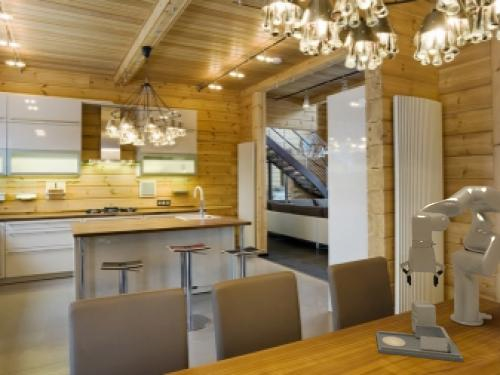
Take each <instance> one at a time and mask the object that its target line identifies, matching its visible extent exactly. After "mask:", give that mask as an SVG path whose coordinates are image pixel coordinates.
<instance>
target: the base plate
mask: <svg viewBox="0 0 500 375" xmlns="http://www.w3.org/2000/svg"><path fill="white" fill-rule="evenodd" d="M375 336H376V341H377V342H376V343H377V349H378V353H379V354H386V355H387V354H389V355H397V356H404V357H405V356H406V357H415V358H424V359H430V360H431V359H433V360H440V361H441V360H442V361H450V362H451V361H452V362H458V363H459V362H460V363H464V357H463V355H462V353H460V351H459V349H458V348H457V345H456V344H455V343H454V341H453V339H452V338H450V339H451V353H443V352H434V351H424V350H420V338H416V337H415V333H405V332H397V331H384V330H383V331H382V330H378V331H376V332H375Z"/></svg>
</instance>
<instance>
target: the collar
mask: <svg viewBox="0 0 500 375" xmlns="http://www.w3.org/2000/svg"><path fill="white" fill-rule="evenodd" d="M414 334H415V337H416V338H420V350H424V351H434V352H443V353H451V339H452V338H451V337H450V336H449V334H448V332H447V330H446V329H445V328H444V326H443V325H442V326H440V325H436V326H432V325H421V324H415V333H414Z"/></svg>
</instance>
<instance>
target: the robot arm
mask: <svg viewBox="0 0 500 375" xmlns="http://www.w3.org/2000/svg"><path fill="white" fill-rule="evenodd" d="M469 209H470V212H471V216H472V220H471V223H470V226H469V228H468V231H467V233H466V234H465V237H464V240H463V245H464V246H463V247H464V248H466V249H467V250H465V249H461V250H457V251H456V250H455V251H454V252H453V253H452V255H451V264H452V265H451V266H452V270H453V293H454V294H453V295H454V296H453V300H454V302H453V305H454V306H453V308H454V309H453V313H451V315H450V320H451V321H453V322H454V323H457V324H460V325H464V326H472V327H473V326H474V327H477V326H481V325H483V324H484V320H492V317H493V316H492V315H491V314H487V313H485V312H481V311H480V288H479V287H480V285H479V284H480V283H479V279H478V277H477V275H478V276H481V277H485V278H487V277H492V276H493V275H495V273H496V272H497V270H498V267H499V265H500V233H497V232H493V229H494V222H493V220H492V218H491V216H490V215H489V213H495V214H500V190H498V189H496V188H494V187H491V186H489V185H488V186H487V185H466V186H463V187H462V188H461V189H459V190H458V191H456V192H455V193H453V194H452V195H450V196H449V197H447V198H446V199H441V200H440V201H437V202H433V203H430V204H428V205H425V206H424V207H422V208H421V209H420V210H418V211H417V212H416V213H415V214H413V215H412V216H411V246H409V250H408V259H407V260H406V261H403V262H402V263H399V267H400V269H401V270H402V272H403V273H404V274H405V275H406V283H407V284H408V285H409V286H412V276H411V275H412V273H432V274H433V278H432V280H433V281H432V282H433V286H434V287H435V288H438V285H439V278H440V276H441V275H442V274H443V273H444V272H445V269H446V265H443V263H441V262H438V261H437V260H436V254H435V253H436V252H435V248H434V247H433V246H436V245H437V242H436V241H433V232H444V231H446V230H447V229H448V228H449V227H450V226H451V220H450V217H458V216H461V215H463V214H464V213H465V212H466V211H467V210H469ZM407 265H408V267H407V268H408V270H407V269H406V268H405V267H406V266H407ZM437 267H439V270H438V271H437Z"/></svg>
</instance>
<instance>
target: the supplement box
mask: <svg viewBox="0 0 500 375" xmlns="http://www.w3.org/2000/svg"><path fill="white" fill-rule="evenodd" d="M410 302H411V330H412V332H413V334H415V324H421V325H432V326H437V314H436V313H437V311H436V310H437V308H436V306H435V304H433V303H431V301H429V300H411V301H410Z"/></svg>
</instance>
